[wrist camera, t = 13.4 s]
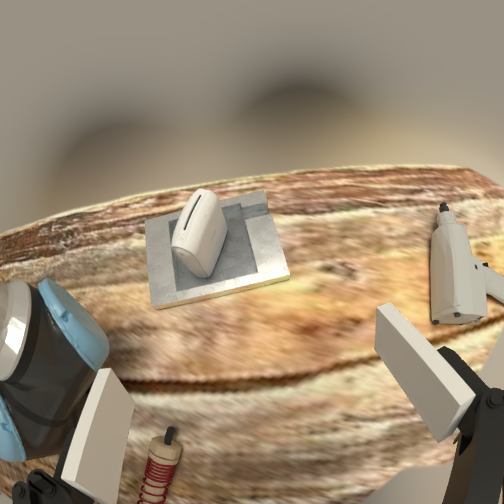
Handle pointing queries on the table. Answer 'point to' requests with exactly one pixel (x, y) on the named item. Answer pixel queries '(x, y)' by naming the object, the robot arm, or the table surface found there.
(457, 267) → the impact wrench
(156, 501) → the shock absorber
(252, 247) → the plate
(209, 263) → the photo printer
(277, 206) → the table surface
